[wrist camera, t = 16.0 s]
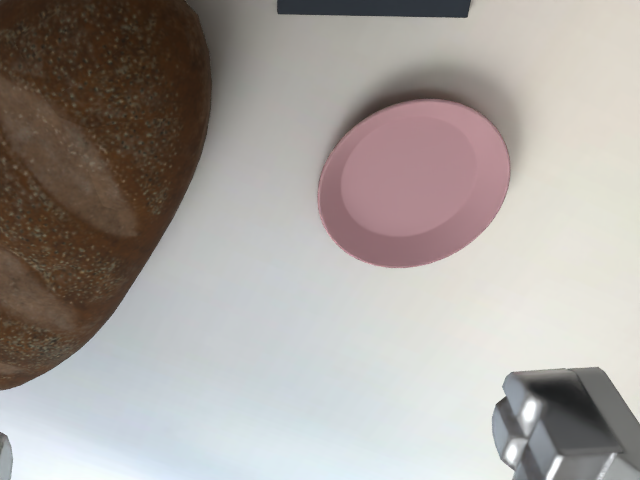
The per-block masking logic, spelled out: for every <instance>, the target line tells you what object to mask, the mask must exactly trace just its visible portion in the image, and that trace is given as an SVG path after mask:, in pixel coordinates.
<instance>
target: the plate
mask: <svg viewBox="0 0 640 480" xmlns="http://www.w3.org/2000/svg"><path fill="white" fill-rule="evenodd" d="M509 180H510V159H509V153H508V150H507V147H506V144H505V142H504V140H503V138H502V136H501V134H500V133H499V131H498V130H497V128H496V127H495V126H494V125H493V124H492V123H491V122H490V121H489V120H488V119H487V118H486V117H485V116H483V115H482V114H481V113H479V112H478V111H476V110H474V109H472V108H470V107H468V106H466V105H463V104H461V103H457V102H454V101H449V100H443V99H416V100H410V101H405V102H401V103H397V104H394V105H391V106H388V107H386V108H383V109H381V110H379V111H377V112H375V113H373V114H371V115H370V116H368V117H366V118H365V119H363V120H362V121H361V122H359V123H358V124H357V125H355V126H354V127H353V128H352V129H351V130H350V131H348V132H347V133H346V134H345V135H344V136H343V138H342V139H341V140H340V141H339V142H338V143H337V145H336V146H335V147H334V149H333V150H332V152H331V154H330V155H329V157H328V159H327V161H326V163H325V165H324V167H323V170H322V173H321V176H320V180H319V185H318V209H319V214H320V217H321V220H322V223H323V225H324V227H325V229H326V231H327V233H328V234H329V236H330V237H331V238H332V240H333V241H334V242H335V243H336V244H337V245H338V246H339V247H340V248H341V249H342V250H344V251H345V252H346V253H348V254H349V255H351V256H352V257H354V258H356V259H358V260H360V261H363V262H365V263H368V264H372V265H376V266H381V267H388V268H408V267H416V266H421V265H426V264H429V263H433V262H436V261H438V260H441V259H443V258H446V257H448V256H450V255H452V254H454V253H456V252H457V251H459V250H461V249H462V248H464V247H465V246H467V245H468V244H470V243H471V242H472V241H473V240H475V239H476V238H477V237H478V236H479V235H480V234H481V233H482V232H483V231H484V230H485V229H486V228H487V227H488V225H489V224H490V223H491V222H492V220H493V219H494V218H495V216H496V214H497V213H498V211H499V209H500V208H501V206H502V204H503V201H504V199H505V196H506V193H507V190H508V186H509Z"/></svg>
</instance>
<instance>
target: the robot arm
mask: <svg viewBox="0 0 640 480" xmlns="http://www.w3.org/2000/svg"><path fill="white" fill-rule="evenodd" d="M502 388H503V390H504V392H505V394H506V397H504V398H503V399H502V400H501V401H499V402H498V403H497V404H496V406H495V409H494V413H493V416H492V432H493V437H494V441H495V446H496V448H497V451H498V453H499V456H500V458H501V460H502V461H503V462H504V463H506V464H507V465H508V466H509V467H511V468H512V469H513V470H514V471H515V472H514V476H513V479H512V480H640V424H639V422H638V421H637V419H636V418H635V416H634V415H633V413H632V412H631V410H630V409H629V407H628V406H627V404H626V403H625V401H624V400H623V398H622V397H621V395H620V394H619V392H618V391H617V389H616V388H615V386H614V385H613V383H612V382H611V380H610V379H609V377H608V376H607V374H606V373H605V372H604V371H603V370H601V369H600V368H599V367H588V368H572V369H565V368H561V369H548V370H534V371H520V372H511V373H510V374H509V375H507V376H506V378H505V381H504V383H503V386H502ZM12 463H13V456H12V449H11V444H10V442H9V440H8V437H7V436H6V435H5V434H3V433H1V432H0V480H11V472H12Z"/></svg>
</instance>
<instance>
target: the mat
mask: <svg viewBox="0 0 640 480" xmlns="http://www.w3.org/2000/svg"><path fill="white" fill-rule="evenodd" d="M470 2H471V0H277V12H278V14H298V15H350V16H403V17H455V18H467V17H468V12H469V7H470Z"/></svg>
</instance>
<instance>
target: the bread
mask: <svg viewBox="0 0 640 480" xmlns="http://www.w3.org/2000/svg"><path fill="white" fill-rule="evenodd" d="M211 90H212V78H211V66H210V55H209V49H208V46H207V43H206V39H205V36H204V33H203V30H202V27H201V23H200V20H199V17H198V15H197V14H196V13H195V12H194V10H193V9H192V8H191V7H190V6H189V5H188V4H187V3H186V2H185V1H184V0H0V390H6V389H10V388H14V387H17V386H20V385H22V384H24V383H26V382H28V381H30V380H32V379H34V378H36V377H38V376H40V375H42V374H44V373H46V372H47V371H49V370H51V369H53V368H54V367H56V366H57V365H59V364H60V363H62V362H63V361H64V360H66V359H67V358H69V357H70V356H71V355H73V354H74V353H75V352H77V351H78V350H79V349H80V348H81V347H83V346H84V345H85V344H86V343H87V342H88V341H89V340H90V339H91V338H92V337H93V336H94V335H95V334H96V333H97V332H98V331H99V329H100V328H101V327H102V326H103V325H104V324H105V323H106V321H107V320H108V319H109V318H110V317H111V316H112V314H113V313H114V312H115V310H116V309H117V307H118V306H119V304H120V303H121V301H122V300H123V298H124V297H125V295H126V293H127V292H128V290H129V289H130V287H131V285H132V284H133V282H134V281H135V279H136V278H137V276H138V275H139V273H140V272H141V270H142V269H143V267H144V265H145V264H146V262H147V261H148V259H149V257H150V256H151V254H152V252H153V251H154V249H155V247H156V246H157V244H158V242H159V241H160V239H161V237H162V236H163V234H164V232H165V231H166V229H167V227H168V226H169V224H170V222H171V221H172V219H173V217H174V215H175V213H176V211H177V209H178V207H179V205H180V203H181V201H182V199H183V197H184V195H185V193H186V191H187V189H188V186H189V184H190V182H191V180H192V178H193V175H194V172H195V170H196V167H197V165H198V162H199V160H200V157H201V154H202V150H203V146H204V142H205V138H206V135H207V129H208V122H209V116H210V109H211Z"/></svg>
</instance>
